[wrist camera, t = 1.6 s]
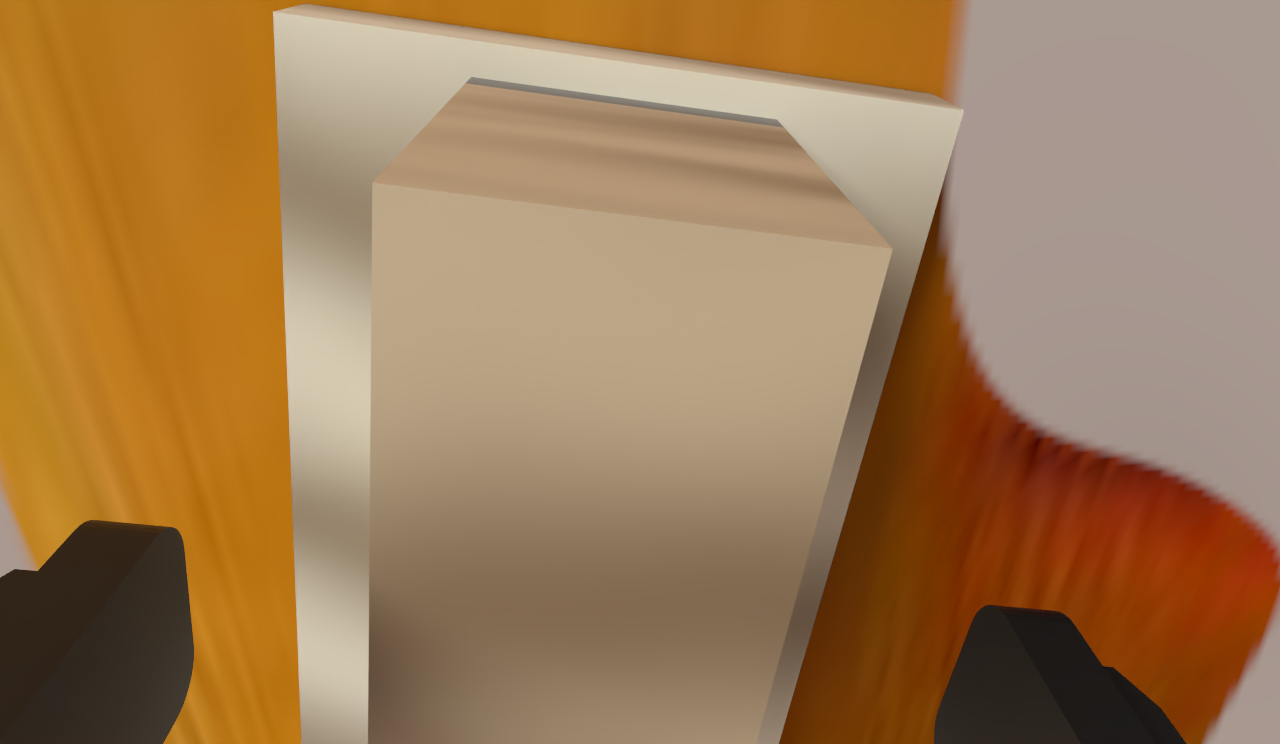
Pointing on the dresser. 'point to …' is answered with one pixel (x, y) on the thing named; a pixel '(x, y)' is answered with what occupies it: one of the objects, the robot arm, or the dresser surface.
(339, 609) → the board
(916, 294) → the dresser surface
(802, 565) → the block
